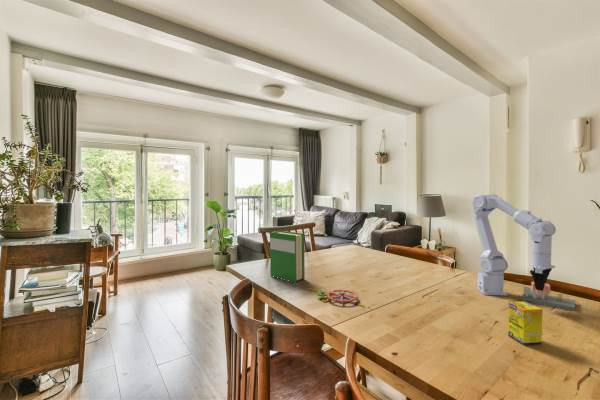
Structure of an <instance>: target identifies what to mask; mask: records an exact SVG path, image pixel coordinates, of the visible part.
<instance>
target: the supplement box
mask: <svg viewBox="0 0 600 400" xmlns="http://www.w3.org/2000/svg"><path fill="white" fill-rule="evenodd" d="M543 312H544V311H543V308H540V307H537V306H535V305H533V304H531V303H530V302H528V301H510V302H508V324H507V325H508V329H507V330H508V331H507V333H508V334H507V336H508V337H510V338H512V339H514V340H515V341H516V342H518V343H519V344H520V345H522V346H538V345H542V339H543V338H542V336H543V334H542V333H543V332H542V331H543Z"/></svg>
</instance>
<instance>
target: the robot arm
mask: <svg viewBox="0 0 600 400" xmlns="http://www.w3.org/2000/svg"><path fill="white" fill-rule="evenodd" d="M471 204H472V207H473V208H472V215H473V221H474V223H475V227H476V230H477V234H478V237H479V241H480V244H481V247H482V251H483V252H482V253H481V254H480V256H479V259H480V264H479V266H480V268H481V270H482V271H483V272H478V273H477V283H476V284H477V287H476V289H477V290H478V291H479V292H480V293H481V294H483V295H487V296H503V297H504V296H508V294H507V293H506V292H505V291H504V278H505V276H504V274H505V271H506V270H508V267H509V263H508V261H507V260H506V258H505V257H504V254H503V253H502V252H501V251H499V250H498V247H497V244H496V241H495V237H494V234H493V230H492V226H491V223H490V220H489V215H490V213H491V212H493V211H494V210H496V209H498V210H499V211H501V212H503V213H504V214H507V215H509V216H511V217H513V221H514V222H515V223H516V224H518V225H519V226H521V227H523V228H525V229H526V230H528V232H529V234H530V236H531V263H530V265H531V267H532V269H533V270H532V269H530V270H529V273H530V276H532V279H533V282H534V284H535V288H536V290H541V291H543V289H544V286H545V283H546V284H547V281H548V277H549V276H550V273H551V272H552V270H553V269H555V268H556V265H552V242H553V241H552V240H553V235H555V233H556V230H557V229H556V225H555V224H554V223H552V222H551V221H549V220H543V218H541V217H537V216H535V215H534V214H532V212H531V211H530V210H524V209H522V210H519V209H518V208H516V207H514V206H513V205H512V204H510V203H509V202H508V201H506V200H504V199H503V198H502V197H501V196H499V195H497V194H494V193H492V194H476V195H475V196H474V197H473V199H472V201H471Z"/></svg>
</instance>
